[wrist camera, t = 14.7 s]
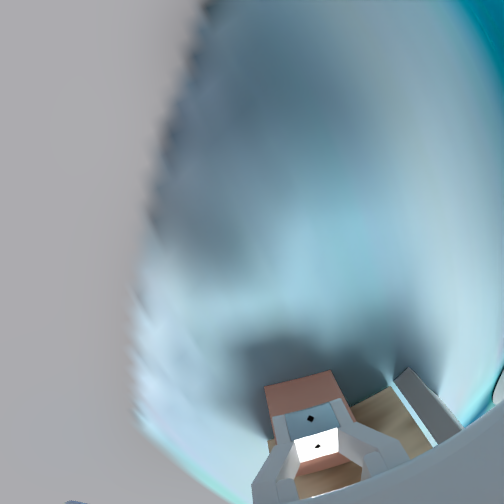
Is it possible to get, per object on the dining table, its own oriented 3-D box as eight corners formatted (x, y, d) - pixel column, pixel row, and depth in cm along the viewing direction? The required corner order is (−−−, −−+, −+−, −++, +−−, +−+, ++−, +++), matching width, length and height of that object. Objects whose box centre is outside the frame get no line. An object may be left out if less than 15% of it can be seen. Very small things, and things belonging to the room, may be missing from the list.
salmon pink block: (263, 385, 17) (276, 446, 12) (330, 369, 17) (357, 423, 12) (273, 425, 18) (285, 479, 14) (331, 410, 18) (353, 460, 14)
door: (390, 385, 18) (435, 451, 11) (393, 401, 18) (433, 463, 12) (267, 440, 18) (281, 517, 11) (277, 452, 19) (293, 524, 12)
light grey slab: (408, 366, 18) (473, 446, 9) (440, 395, 20) (489, 456, 11) (393, 381, 18) (452, 465, 10) (427, 406, 20) (474, 470, 12)
